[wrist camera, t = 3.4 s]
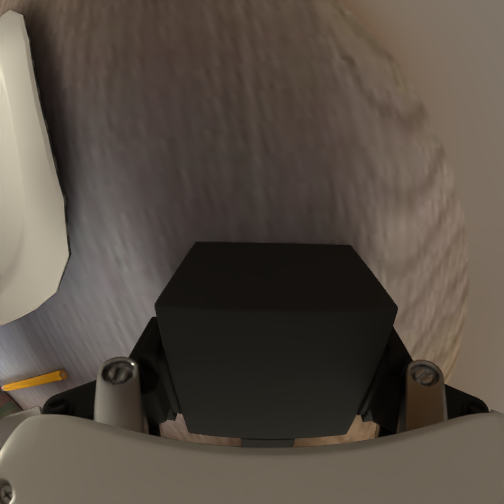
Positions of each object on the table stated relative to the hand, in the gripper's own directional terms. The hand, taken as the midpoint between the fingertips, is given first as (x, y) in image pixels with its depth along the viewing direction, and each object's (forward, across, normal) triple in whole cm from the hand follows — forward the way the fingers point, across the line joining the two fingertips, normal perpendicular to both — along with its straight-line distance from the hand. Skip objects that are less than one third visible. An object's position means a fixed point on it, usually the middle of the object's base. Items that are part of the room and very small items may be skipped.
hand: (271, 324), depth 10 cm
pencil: (+1, +22, +11) cm, 25 cm away
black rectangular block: (+1, 0, 0) cm, 1 cm away
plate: (+1, +18, -7) cm, 19 cm away
